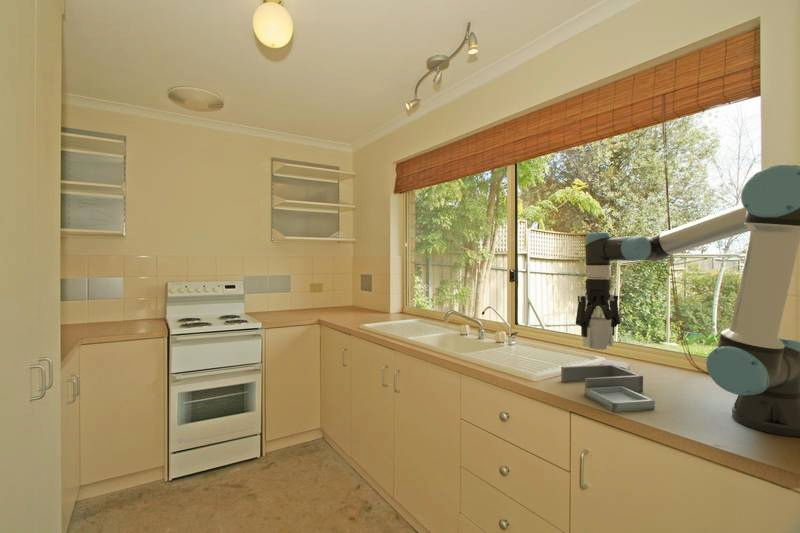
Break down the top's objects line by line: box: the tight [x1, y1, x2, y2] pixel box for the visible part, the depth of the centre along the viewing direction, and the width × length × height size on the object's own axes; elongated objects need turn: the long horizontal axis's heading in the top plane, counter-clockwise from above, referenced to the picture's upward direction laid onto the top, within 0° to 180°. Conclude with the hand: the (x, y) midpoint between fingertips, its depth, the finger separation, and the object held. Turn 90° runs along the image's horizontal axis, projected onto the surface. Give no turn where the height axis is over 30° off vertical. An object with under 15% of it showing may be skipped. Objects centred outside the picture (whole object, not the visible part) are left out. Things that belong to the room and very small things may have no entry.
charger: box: [599, 359, 631, 371], centre depth 147 cm, size 5×9×15 cm
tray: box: [584, 386, 656, 413], centre depth 117 cm, size 13×13×2 cm
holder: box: [560, 364, 644, 393], centre depth 133 cm, size 14×20×5 cm
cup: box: [588, 316, 611, 351], centre depth 132 cm, size 8×8×10 cm
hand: (597, 345), depth 132 cm, fingers closed on cup, 8 cm apart
